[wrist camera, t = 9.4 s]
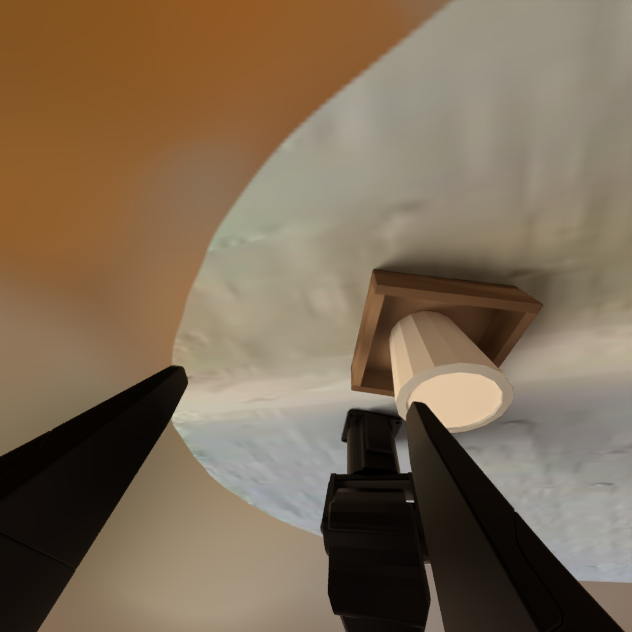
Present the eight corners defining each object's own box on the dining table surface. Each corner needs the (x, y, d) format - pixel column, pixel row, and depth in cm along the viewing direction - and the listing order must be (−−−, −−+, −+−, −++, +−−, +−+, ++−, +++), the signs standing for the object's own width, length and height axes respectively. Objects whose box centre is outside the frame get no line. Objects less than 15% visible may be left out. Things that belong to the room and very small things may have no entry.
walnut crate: (456, 382, 23) (470, 407, 21) (351, 367, 24) (351, 390, 21) (515, 286, 17) (543, 304, 15) (373, 269, 18) (377, 284, 16)
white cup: (381, 307, 19) (397, 366, 13) (471, 300, 18) (531, 362, 12) (382, 366, 23) (394, 434, 17) (457, 364, 21) (499, 436, 15)
